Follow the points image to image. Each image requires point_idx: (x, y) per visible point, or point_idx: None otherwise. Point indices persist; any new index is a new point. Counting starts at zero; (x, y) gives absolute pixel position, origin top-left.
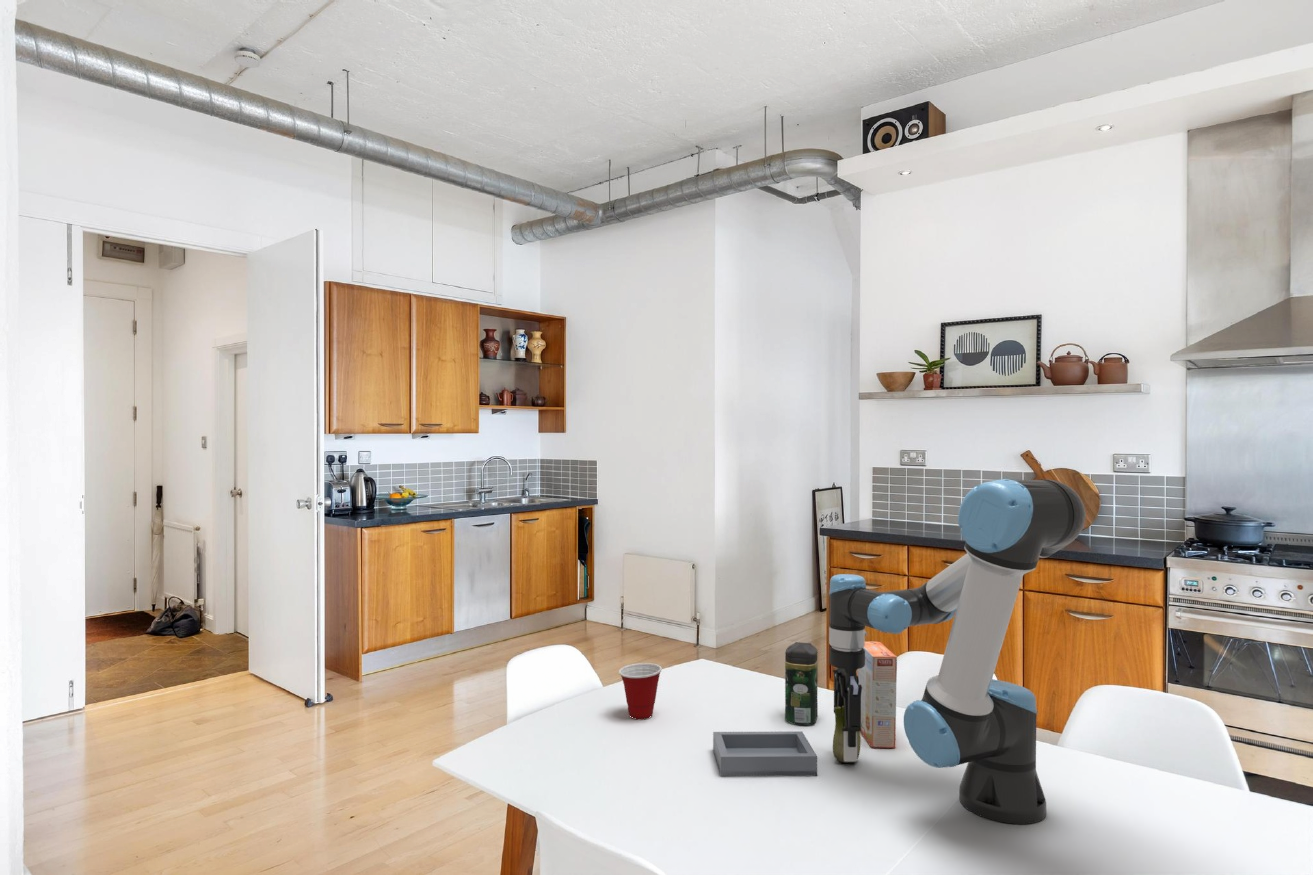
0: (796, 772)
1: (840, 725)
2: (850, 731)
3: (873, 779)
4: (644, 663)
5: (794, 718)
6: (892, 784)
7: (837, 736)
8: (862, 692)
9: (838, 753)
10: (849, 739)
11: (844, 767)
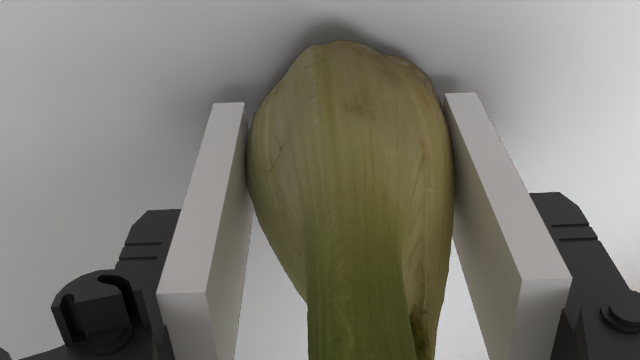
0: None
1: (307, 289)
2: (60, 354)
3: (57, 222)
4: None
5: None
6: (11, 300)
7: (303, 166)
8: None
9: (279, 87)
10: (118, 269)
11: (240, 82)
